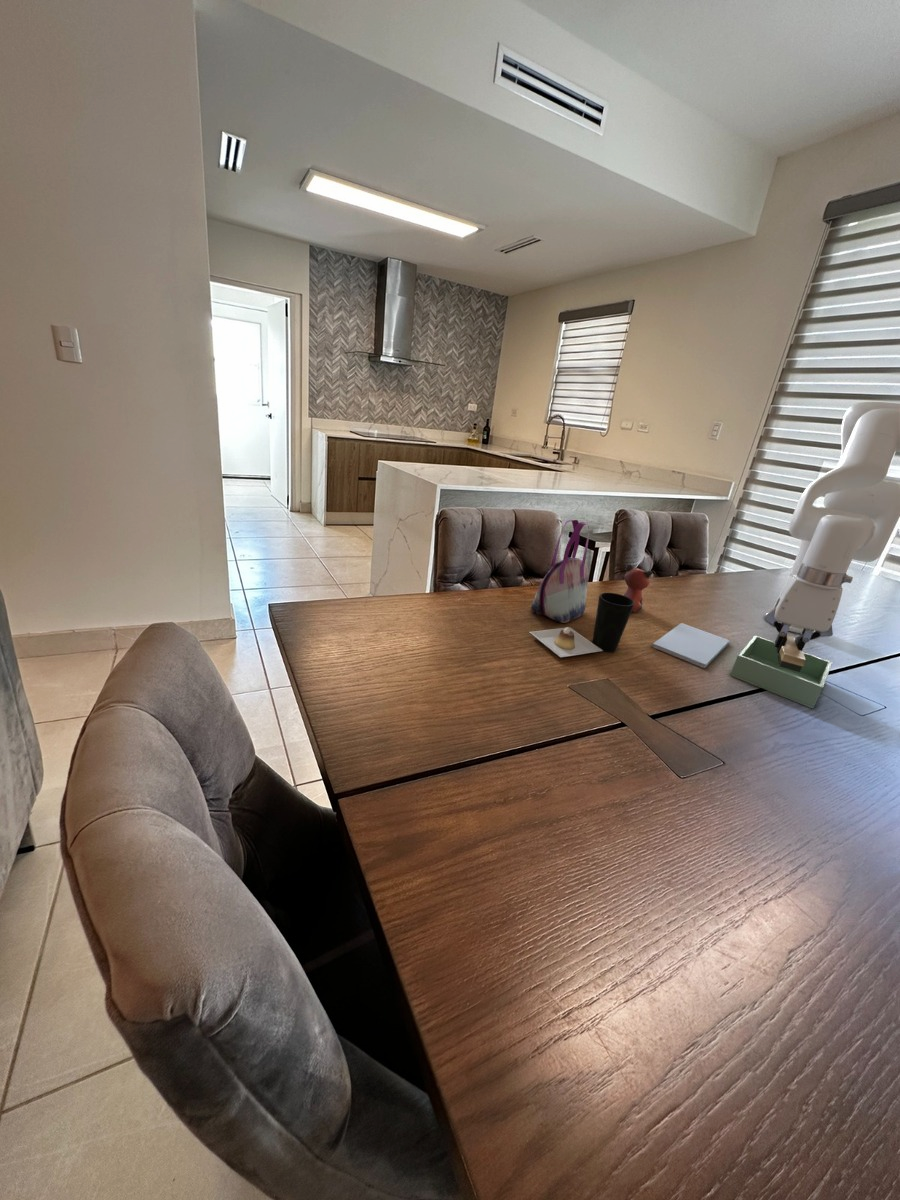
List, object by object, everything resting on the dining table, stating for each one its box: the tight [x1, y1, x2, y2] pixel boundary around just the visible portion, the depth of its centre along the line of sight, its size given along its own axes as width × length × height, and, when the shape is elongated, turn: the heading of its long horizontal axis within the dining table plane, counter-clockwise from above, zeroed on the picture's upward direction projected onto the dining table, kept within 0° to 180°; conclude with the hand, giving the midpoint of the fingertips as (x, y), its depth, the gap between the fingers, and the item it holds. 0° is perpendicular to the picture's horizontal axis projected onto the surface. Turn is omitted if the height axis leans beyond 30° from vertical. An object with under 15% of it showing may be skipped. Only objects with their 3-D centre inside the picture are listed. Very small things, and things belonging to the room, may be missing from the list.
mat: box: [651, 622, 731, 669], centre depth 116 cm, size 20×12×1 cm, turn 137°
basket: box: [729, 635, 833, 709], centre depth 104 cm, size 16×15×5 cm
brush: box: [777, 635, 806, 672], centre depth 102 cm, size 12×4×3 cm, turn 152°
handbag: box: [531, 519, 590, 624], centre depth 120 cm, size 21×10×25 cm, turn 135°
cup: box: [592, 592, 635, 653], centre depth 108 cm, size 8×8×12 cm
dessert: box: [529, 626, 604, 658], centre depth 107 cm, size 12×12×5 cm
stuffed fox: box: [623, 563, 654, 613], centre depth 131 cm, size 8×11×12 cm
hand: (785, 652), depth 105 cm, fingers closed on brush, 2 cm apart
